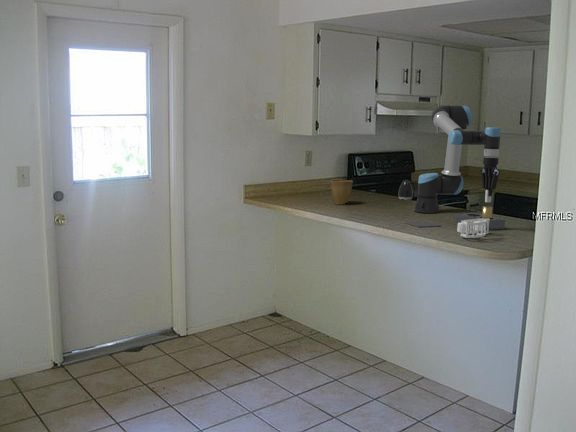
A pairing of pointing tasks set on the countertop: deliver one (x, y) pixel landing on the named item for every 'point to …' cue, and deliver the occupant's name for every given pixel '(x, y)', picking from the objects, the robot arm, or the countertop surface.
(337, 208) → the countertop surface
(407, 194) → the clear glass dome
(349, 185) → the plant pot
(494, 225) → the block
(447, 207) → the countertop surface
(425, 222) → the mat
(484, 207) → the bushing
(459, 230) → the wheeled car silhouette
